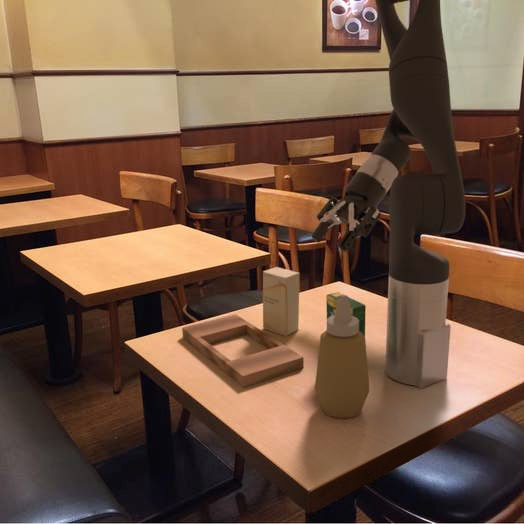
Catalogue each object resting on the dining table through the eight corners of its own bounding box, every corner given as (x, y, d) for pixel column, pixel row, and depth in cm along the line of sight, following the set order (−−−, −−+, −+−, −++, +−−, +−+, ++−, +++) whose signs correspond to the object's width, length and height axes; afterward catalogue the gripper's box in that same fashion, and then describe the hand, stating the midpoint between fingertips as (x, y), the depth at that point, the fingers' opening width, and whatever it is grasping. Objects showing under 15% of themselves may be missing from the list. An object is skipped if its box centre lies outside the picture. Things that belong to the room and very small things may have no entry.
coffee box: (324, 363, 100) (325, 293, 96) (338, 359, 101) (339, 290, 98) (350, 383, 93) (352, 308, 90) (365, 379, 94) (367, 305, 91)
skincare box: (262, 328, 116) (260, 271, 112) (277, 322, 119) (275, 266, 115) (286, 336, 111) (285, 277, 108) (300, 329, 115) (300, 271, 111)
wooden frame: (303, 367, 99) (303, 357, 98) (243, 387, 93) (243, 376, 92) (236, 323, 119) (235, 314, 118) (182, 337, 113) (182, 327, 112)
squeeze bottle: (336, 389, 92) (337, 283, 86) (379, 407, 86) (383, 294, 81) (303, 410, 86) (302, 297, 81) (347, 430, 81) (350, 311, 75)
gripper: (340, 167, 122) (296, 227, 120) (386, 174, 111) (339, 241, 108) (358, 189, 127) (316, 247, 124) (405, 198, 115) (360, 263, 113)
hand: (327, 244), depth 116 cm, fingers open, 8 cm apart
